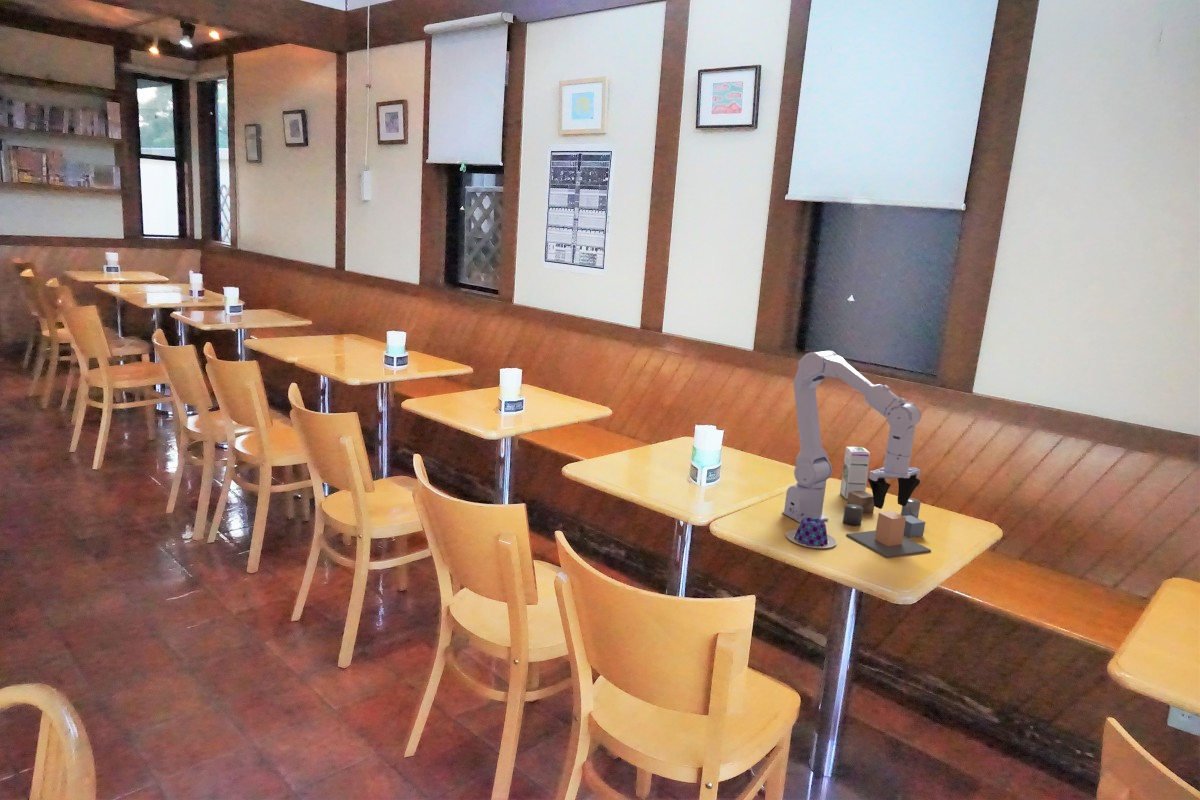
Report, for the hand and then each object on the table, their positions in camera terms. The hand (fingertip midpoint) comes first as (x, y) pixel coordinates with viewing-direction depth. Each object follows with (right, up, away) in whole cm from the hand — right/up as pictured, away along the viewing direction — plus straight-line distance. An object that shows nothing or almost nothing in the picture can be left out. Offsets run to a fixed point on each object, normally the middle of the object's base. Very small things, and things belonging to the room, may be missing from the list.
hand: (889, 506), depth 195 cm
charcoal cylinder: (-5, -6, +14) cm, 16 cm away
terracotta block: (0, -9, +1) cm, 9 cm away
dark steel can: (+12, -6, +19) cm, 24 cm away
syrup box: (+2, -2, +35) cm, 35 cm away
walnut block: (0, -5, +24) cm, 24 cm away
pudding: (-19, -9, 0) cm, 21 cm away
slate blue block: (+8, -8, +9) cm, 15 cm away
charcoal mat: (0, -9, +1) cm, 9 cm away
